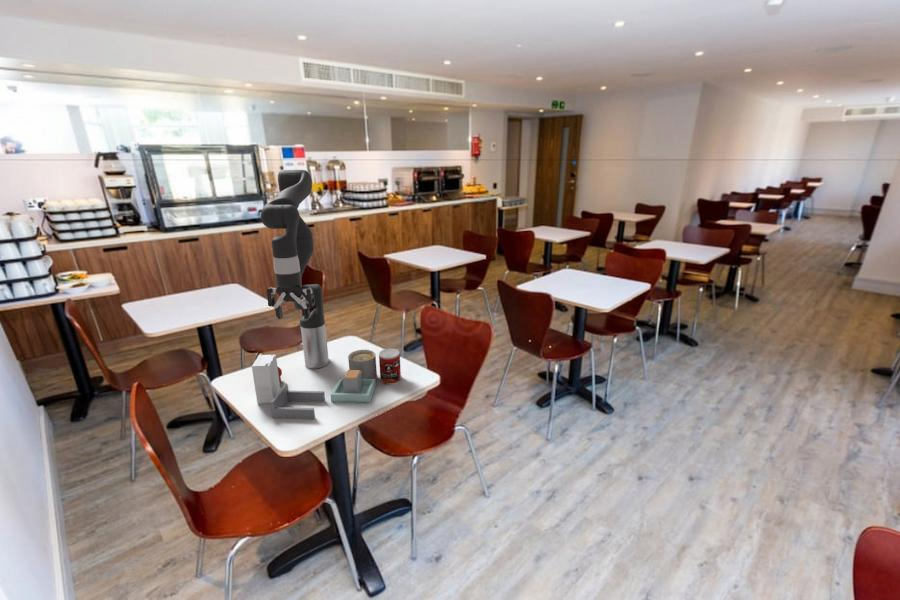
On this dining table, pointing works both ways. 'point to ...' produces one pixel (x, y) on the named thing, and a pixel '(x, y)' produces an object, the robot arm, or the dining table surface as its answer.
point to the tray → (363, 397)
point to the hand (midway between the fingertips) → (293, 318)
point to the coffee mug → (363, 363)
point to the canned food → (389, 366)
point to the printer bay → (287, 395)
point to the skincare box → (266, 378)
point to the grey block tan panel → (353, 381)
